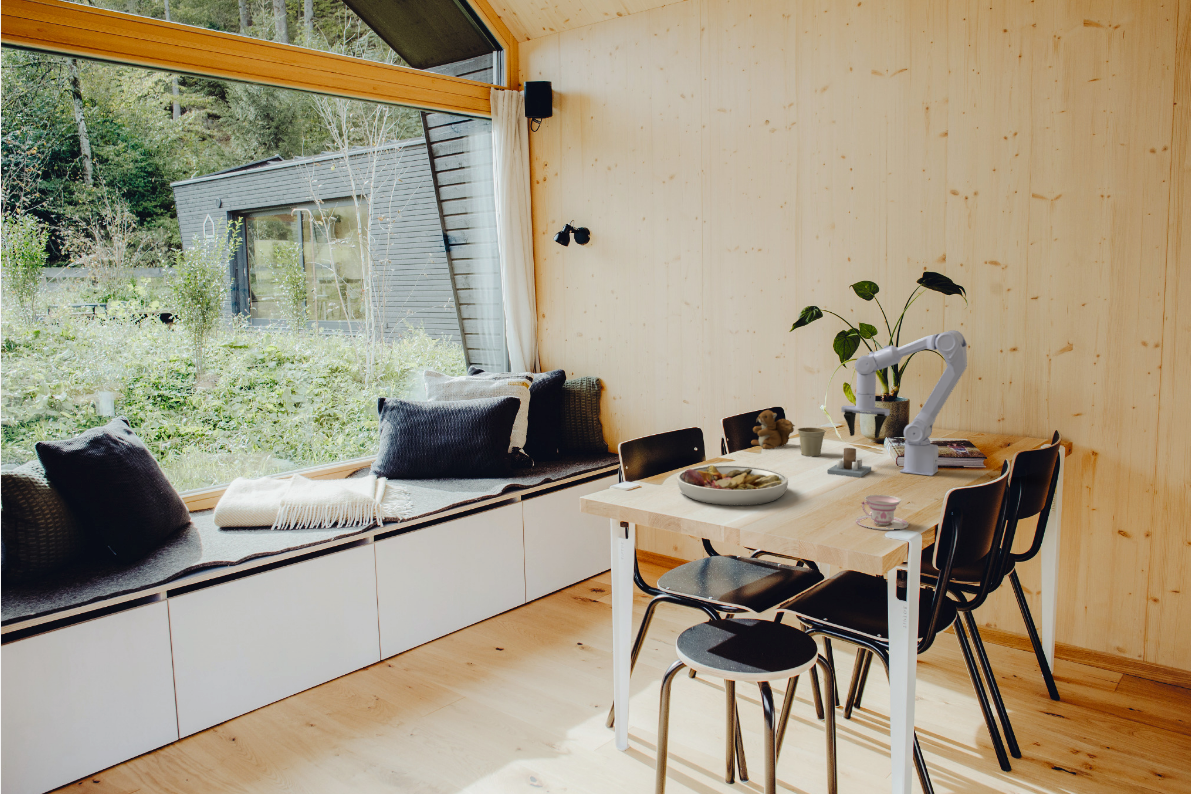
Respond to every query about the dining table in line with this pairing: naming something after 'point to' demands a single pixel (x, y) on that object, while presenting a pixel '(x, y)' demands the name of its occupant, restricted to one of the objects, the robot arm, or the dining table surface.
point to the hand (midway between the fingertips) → (864, 436)
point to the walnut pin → (849, 458)
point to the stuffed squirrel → (772, 431)
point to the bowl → (732, 485)
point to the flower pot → (811, 440)
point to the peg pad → (855, 472)
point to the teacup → (882, 512)
